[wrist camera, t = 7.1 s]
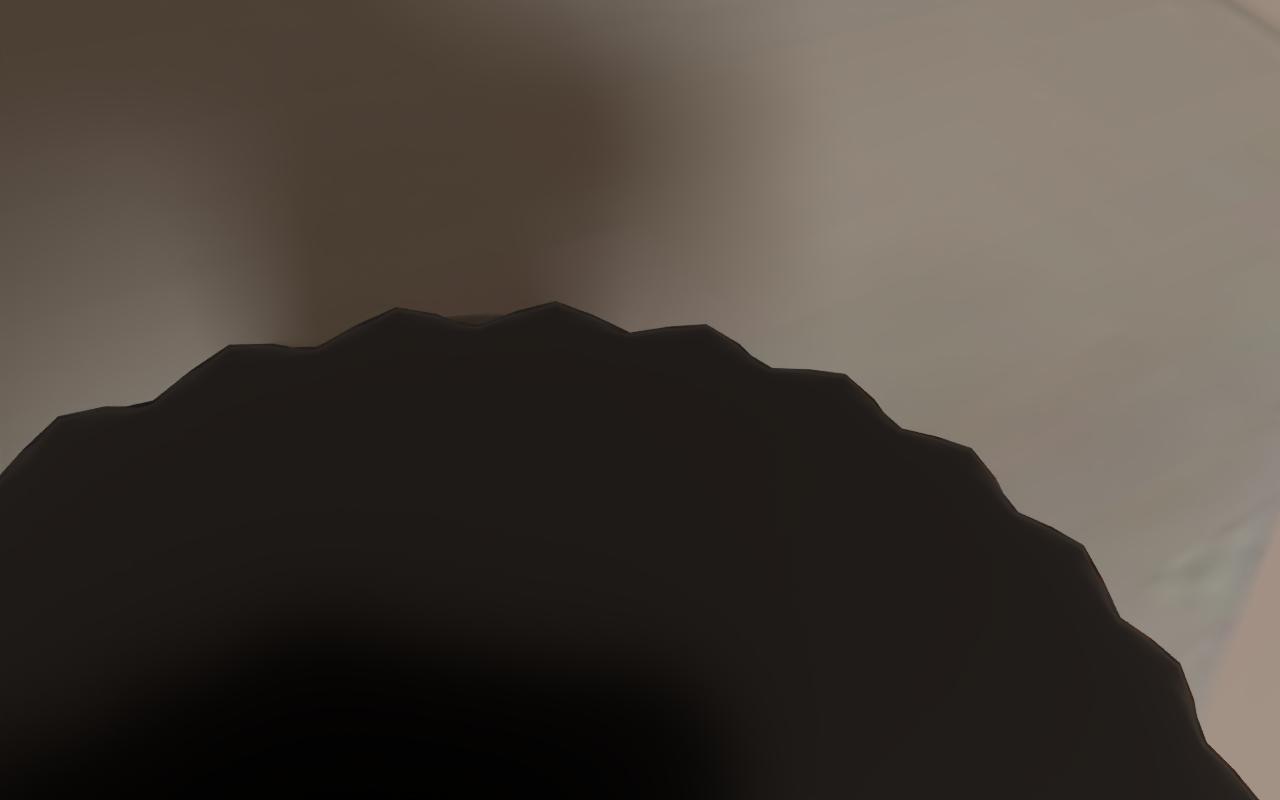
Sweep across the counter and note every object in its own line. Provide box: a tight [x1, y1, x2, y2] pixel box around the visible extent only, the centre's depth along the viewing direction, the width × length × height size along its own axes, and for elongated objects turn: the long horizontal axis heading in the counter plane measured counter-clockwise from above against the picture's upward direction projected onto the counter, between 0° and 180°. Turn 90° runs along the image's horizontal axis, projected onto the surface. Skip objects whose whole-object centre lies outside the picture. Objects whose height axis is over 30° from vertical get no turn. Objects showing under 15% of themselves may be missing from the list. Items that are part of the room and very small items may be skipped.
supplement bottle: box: [0, 301, 1259, 800], centre depth 8 cm, size 7×7×12 cm
